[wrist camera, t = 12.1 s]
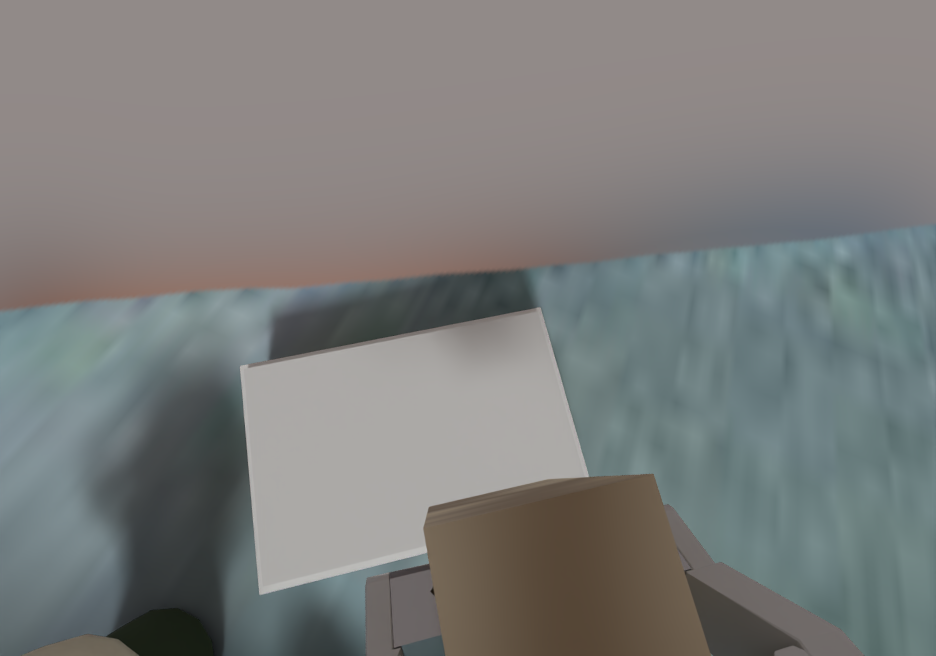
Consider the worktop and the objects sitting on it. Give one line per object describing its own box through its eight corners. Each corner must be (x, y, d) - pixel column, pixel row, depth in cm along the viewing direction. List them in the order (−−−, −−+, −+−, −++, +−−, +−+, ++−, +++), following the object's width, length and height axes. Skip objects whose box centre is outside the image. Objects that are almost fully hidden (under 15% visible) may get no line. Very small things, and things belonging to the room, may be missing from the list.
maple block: (454, 647, 14) (477, 837, 7) (428, 506, 15) (423, 528, 8) (582, 613, 15) (740, 751, 7) (548, 479, 16) (653, 473, 8)
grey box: (286, 578, 28) (255, 597, 23) (266, 381, 32) (235, 363, 27) (576, 505, 30) (601, 510, 26) (528, 328, 34) (542, 303, 29)
